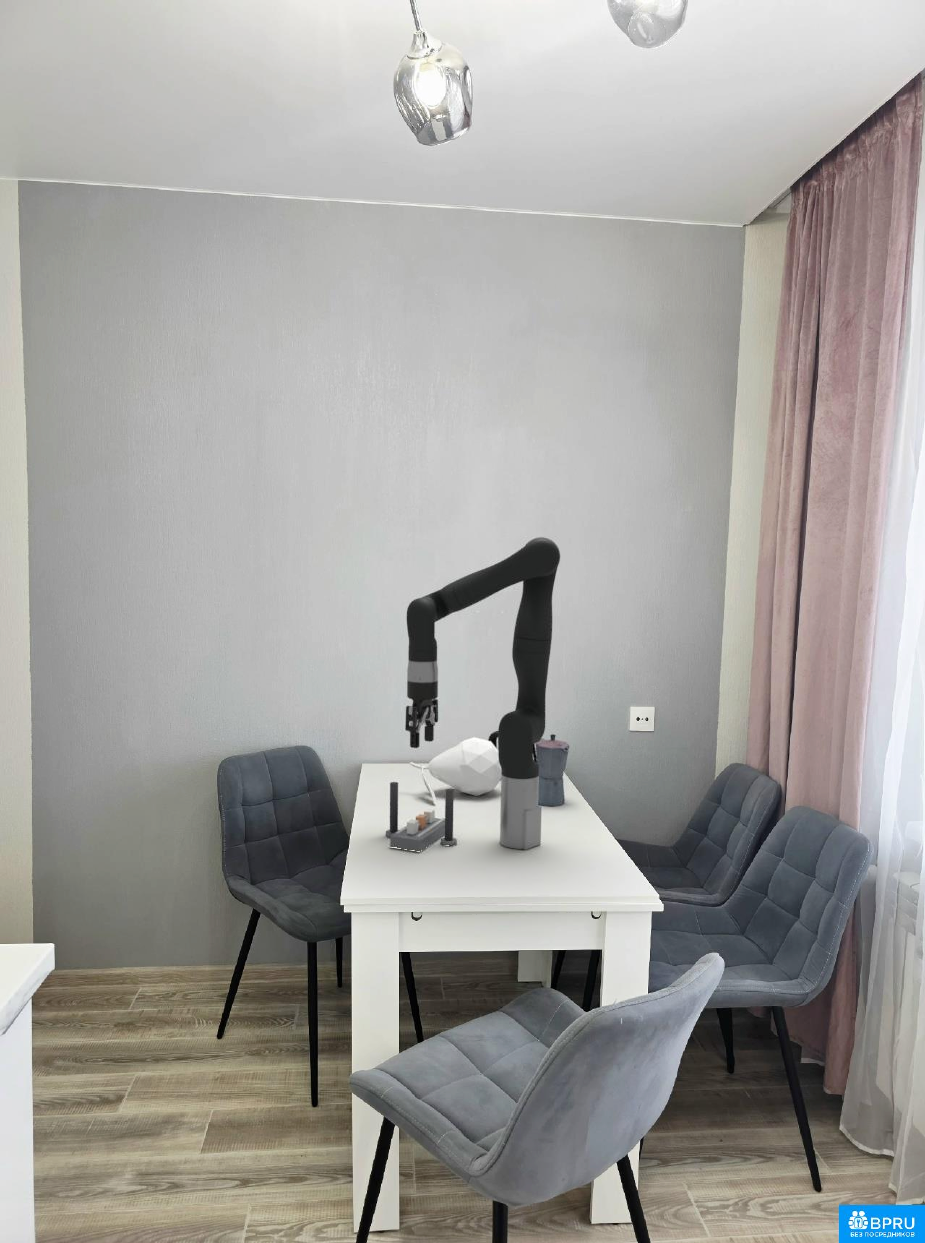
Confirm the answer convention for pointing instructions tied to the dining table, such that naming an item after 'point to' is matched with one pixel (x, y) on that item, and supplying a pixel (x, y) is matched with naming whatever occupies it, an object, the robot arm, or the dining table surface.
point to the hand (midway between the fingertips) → (422, 744)
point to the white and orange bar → (420, 821)
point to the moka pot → (551, 770)
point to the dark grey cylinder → (449, 819)
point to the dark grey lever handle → (393, 809)
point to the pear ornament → (466, 767)
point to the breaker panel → (419, 836)
